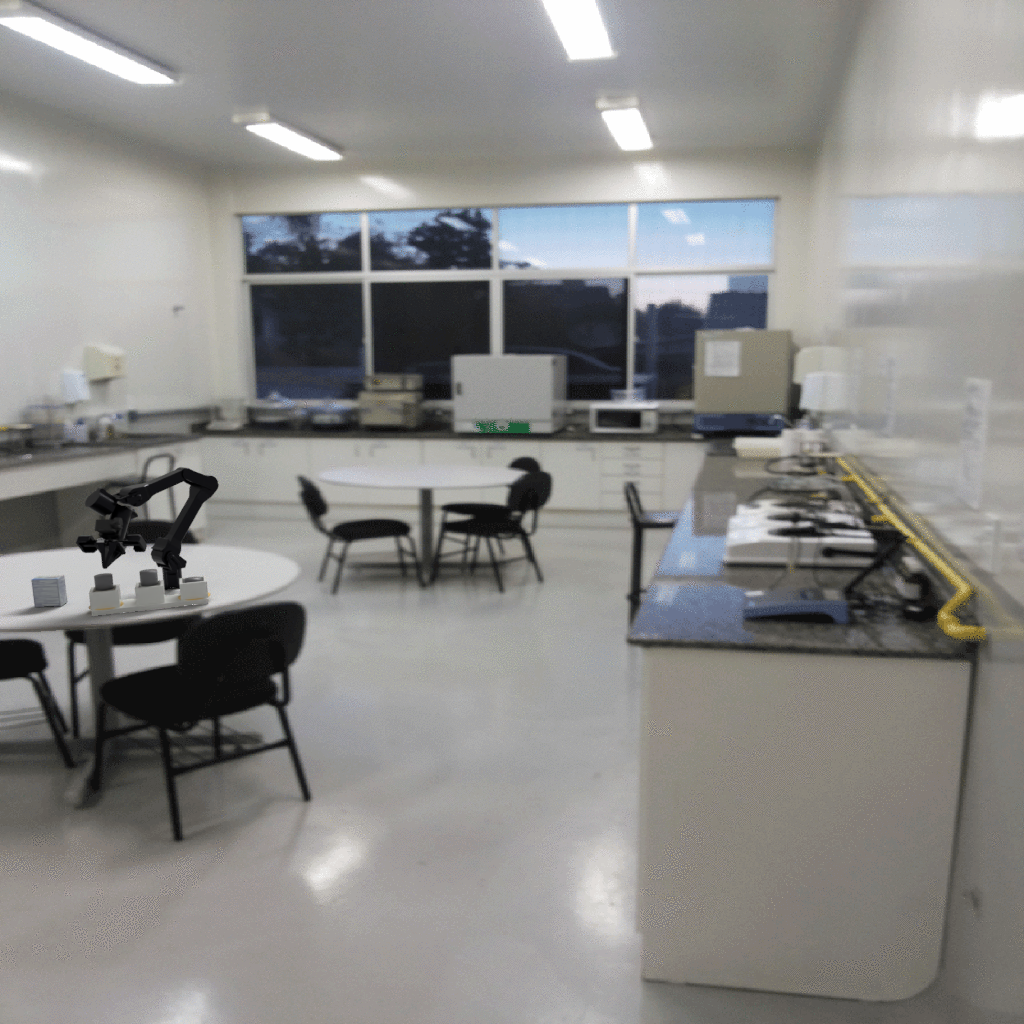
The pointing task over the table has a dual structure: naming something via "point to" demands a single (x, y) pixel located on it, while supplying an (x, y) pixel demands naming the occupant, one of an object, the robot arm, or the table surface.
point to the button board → (148, 597)
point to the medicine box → (49, 590)
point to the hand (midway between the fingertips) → (104, 568)
